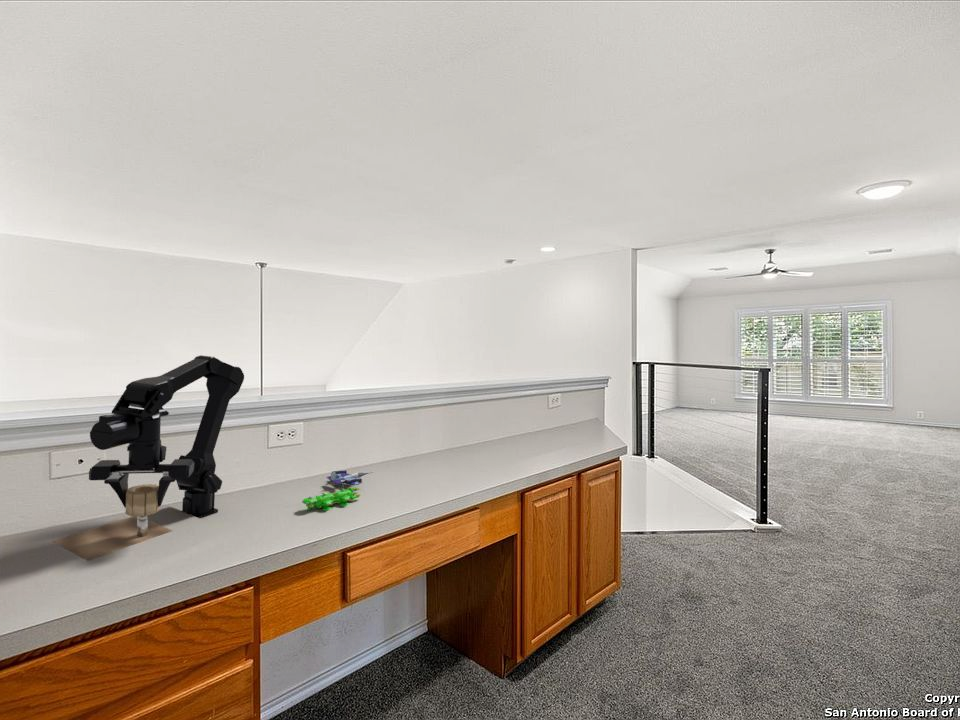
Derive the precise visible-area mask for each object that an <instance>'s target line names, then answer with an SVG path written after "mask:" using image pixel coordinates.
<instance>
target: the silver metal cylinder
mask: <svg viewBox="0 0 960 720" xmlns="http://www.w3.org/2000/svg"><path fill="white" fill-rule="evenodd" d="M148 520H149V515H147V516H138V517H137V536H138V537H143V536H146V535H147V534H148Z"/></svg>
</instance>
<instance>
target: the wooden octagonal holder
mask: <svg viewBox="0 0 960 720" xmlns="http://www.w3.org/2000/svg"><path fill="white" fill-rule="evenodd" d="M158 489H159V485H157V484H139V485H135V486H131V487H128V490H127V491H126V508H125V514H126V515H128V516H129V517H135V516H147V515H148V516H149V515H150V516H151V515H154V514H156V513H158V512H159V510H160V508H161V506H158V501H157V500H158Z"/></svg>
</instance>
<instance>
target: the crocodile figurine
mask: <svg viewBox="0 0 960 720" xmlns="http://www.w3.org/2000/svg"><path fill="white" fill-rule="evenodd" d="M357 491H360V488H358V487H354V486H349V487H348V488H346V489H345V488H344V489H341V490H338V491H334V492H332V493H329V492H327V493H325V492H322V493H321V495H316V496H315V497H313V496H312V495H310V496H308V497H306V498H303V499H302V500H301V501H302V502H301V503H302V504H304V505H305V506H306V510H307V511H310V509H311V508H313V507H315V508H316V509H317V510H318V509H321V508H322V511H324V512H326V511H330V510H331V509H332V507H330V506H333V504H340V507H347V506H348V505H349V503H348V502H350V501H355V500H356V499H358V498H360V497H361V495H362V494H361V493H358V492H357Z"/></svg>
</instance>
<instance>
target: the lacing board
mask: <svg viewBox="0 0 960 720" xmlns="http://www.w3.org/2000/svg"><path fill="white" fill-rule="evenodd" d="M137 517H138V516H135V517H133V516H129V517H127V518H124V519H119V520H117V521H114V522H111V523H107V524H104V525H101V526H97V527H93V528H90V529H87V530H84V531H81V532H78V533H77V532H76V533H74V534H71V535H68V536H65V537H62V538H58V539H55V540H52V542H53V543H55V544H57V545H58V546H60V547H62V548H64V549H65V550H67V551H69V552H71V553H73V554H74V555H76V556H79V557H80V558H82V559H84V560H86V561H91V560H94V559H97V558H99V557H103V556H105V555H108V554H110V553H113V552H116V551H119V550H120V551H121V550H122V549H123V550H124V549H125V548H129V547H130V546H134V545H136V544H139V543H142V542H145V541H148V540H151V539H153V538H156V537H159V536H163V535H165V534H168V533H170V532H173V530H172V529H170V528H167V527H165V526H163V525H161V524H158V523H156V522H154V521H151V520H149V519H148V534H147V535H146V536H143V537H138V536H137Z"/></svg>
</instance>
